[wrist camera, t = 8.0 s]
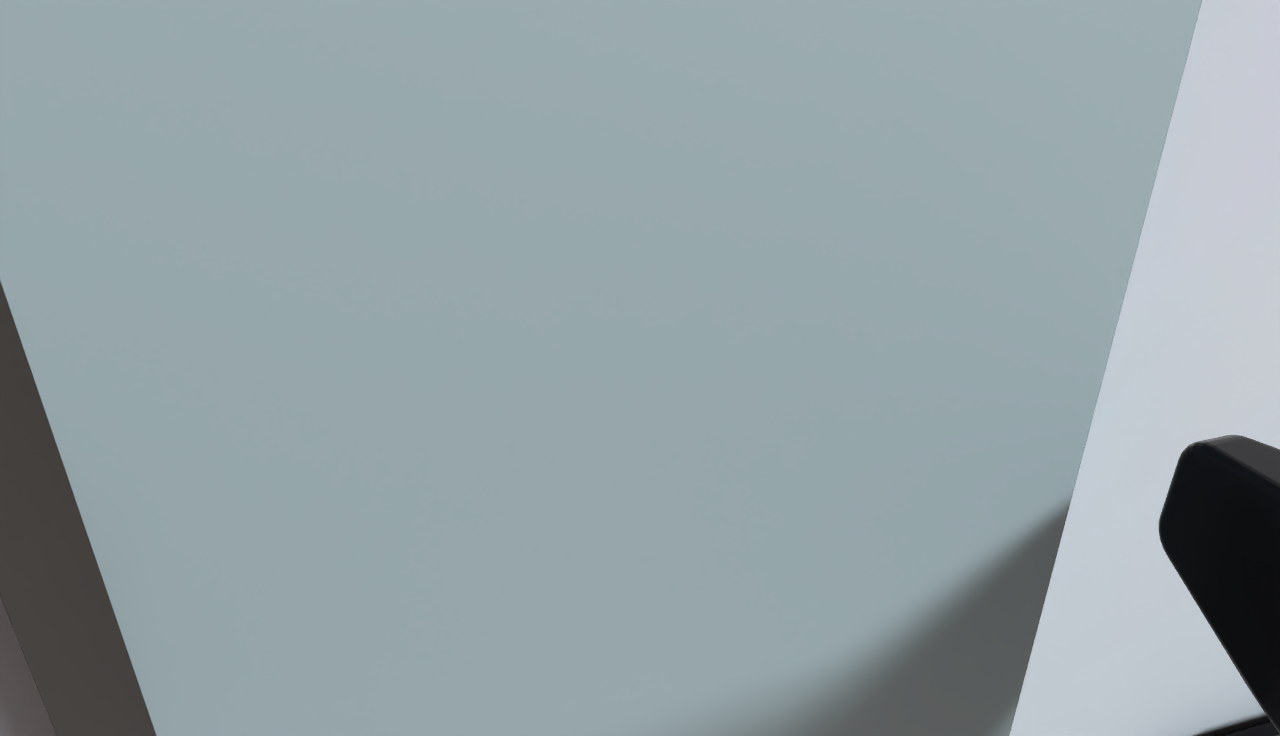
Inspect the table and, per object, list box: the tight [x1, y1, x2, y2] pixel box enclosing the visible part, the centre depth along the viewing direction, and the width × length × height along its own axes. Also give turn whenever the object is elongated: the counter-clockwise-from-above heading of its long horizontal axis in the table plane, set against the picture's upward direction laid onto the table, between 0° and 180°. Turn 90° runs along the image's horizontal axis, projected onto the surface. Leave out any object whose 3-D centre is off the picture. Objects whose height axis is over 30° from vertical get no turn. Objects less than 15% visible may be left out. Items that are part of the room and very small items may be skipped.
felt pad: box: [0, 281, 156, 736], centre depth 11 cm, size 14×10×1 cm
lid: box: [0, 0, 1202, 736], centre depth 10 cm, size 11×7×3 cm, turn 0°
